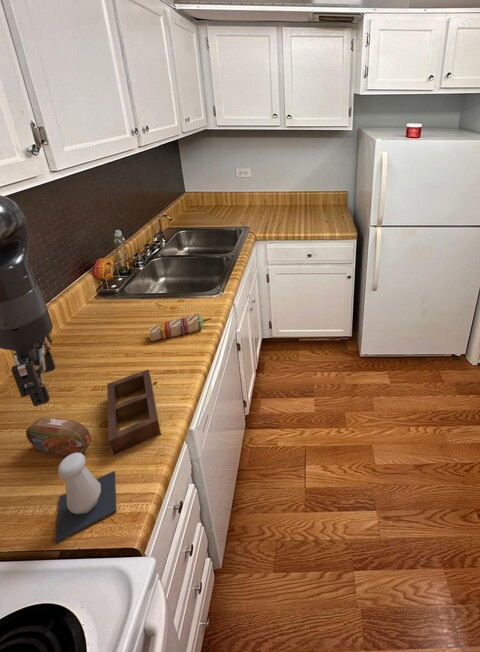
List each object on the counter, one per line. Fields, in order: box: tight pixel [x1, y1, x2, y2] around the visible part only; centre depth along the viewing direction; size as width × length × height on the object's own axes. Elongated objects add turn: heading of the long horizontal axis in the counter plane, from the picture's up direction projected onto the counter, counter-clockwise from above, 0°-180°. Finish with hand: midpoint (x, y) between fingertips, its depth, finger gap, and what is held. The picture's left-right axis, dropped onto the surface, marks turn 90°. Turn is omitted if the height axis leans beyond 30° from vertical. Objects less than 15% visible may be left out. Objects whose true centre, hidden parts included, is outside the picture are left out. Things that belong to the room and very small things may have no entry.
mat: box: [54, 470, 117, 544], centre depth 68 cm, size 10×9×1 cm
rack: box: [106, 369, 162, 456], centre depth 87 cm, size 10×19×5 cm, turn 31°
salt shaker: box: [57, 453, 101, 514], centre depth 66 cm, size 6×6×13 cm
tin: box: [25, 416, 92, 457], centre depth 78 cm, size 15×3×8 cm, turn 82°
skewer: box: [148, 313, 212, 342], centre depth 119 cm, size 21×6×5 cm, turn 115°
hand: (45, 386), depth 62 cm, fingers open, 8 cm apart
